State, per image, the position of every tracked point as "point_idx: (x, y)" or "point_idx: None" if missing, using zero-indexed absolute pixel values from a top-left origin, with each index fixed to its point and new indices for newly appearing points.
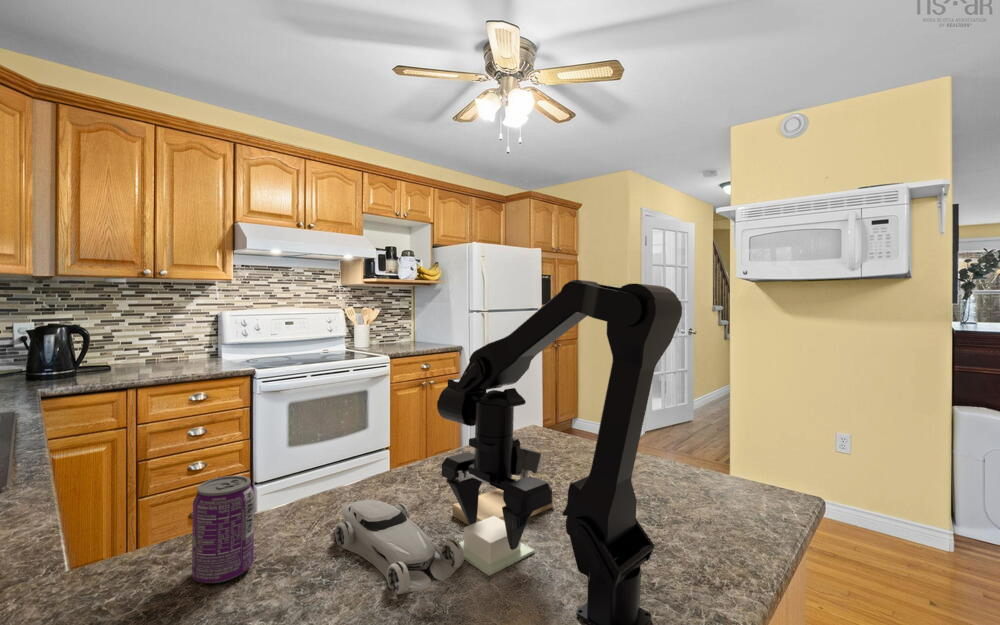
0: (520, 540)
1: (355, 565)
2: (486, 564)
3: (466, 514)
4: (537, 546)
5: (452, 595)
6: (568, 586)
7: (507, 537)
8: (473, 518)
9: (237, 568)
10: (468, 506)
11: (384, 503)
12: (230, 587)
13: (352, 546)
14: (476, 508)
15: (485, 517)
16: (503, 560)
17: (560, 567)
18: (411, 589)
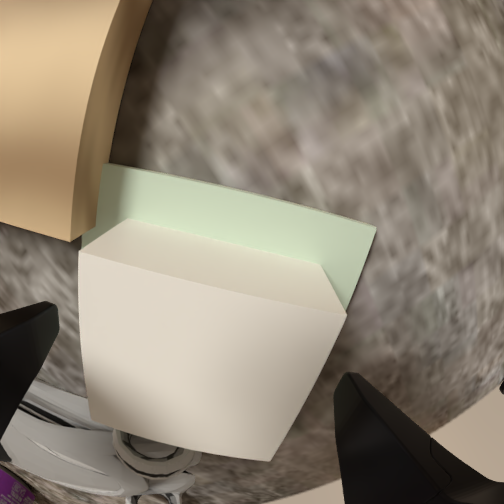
0: (329, 283)
1: None
2: None
3: (28, 385)
4: (360, 163)
5: (256, 478)
6: (493, 325)
7: (339, 455)
8: (41, 338)
9: (27, 497)
10: (5, 399)
11: None
12: (40, 493)
13: None
14: (7, 341)
15: (30, 193)
16: None
17: (473, 258)
18: (182, 492)
